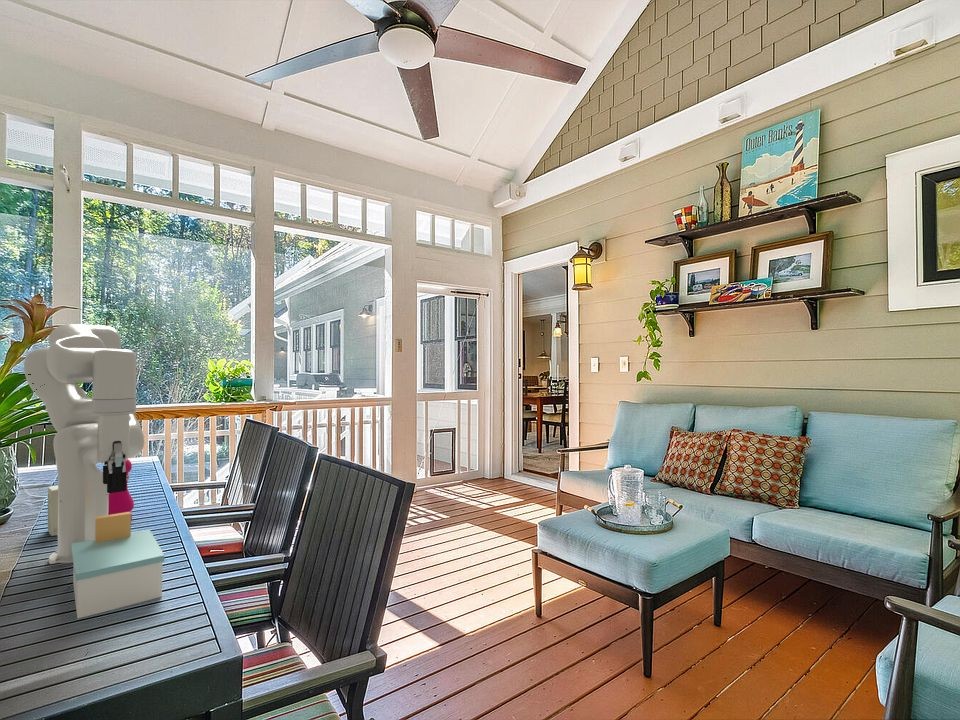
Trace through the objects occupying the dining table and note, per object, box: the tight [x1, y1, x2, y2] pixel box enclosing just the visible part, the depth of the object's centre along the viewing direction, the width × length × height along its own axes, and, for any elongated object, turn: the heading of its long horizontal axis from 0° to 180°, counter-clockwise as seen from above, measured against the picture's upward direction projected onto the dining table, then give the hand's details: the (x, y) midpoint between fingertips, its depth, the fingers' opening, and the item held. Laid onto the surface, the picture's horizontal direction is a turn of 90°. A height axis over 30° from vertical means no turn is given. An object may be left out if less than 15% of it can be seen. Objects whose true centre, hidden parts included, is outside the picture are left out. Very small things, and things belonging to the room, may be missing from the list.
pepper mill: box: [108, 458, 135, 521], centre depth 144 cm, size 7×7×20 cm
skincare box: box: [47, 485, 58, 537], centre depth 135 cm, size 6×4×12 cm
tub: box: [72, 562, 163, 620], centre depth 101 cm, size 18×13×8 cm
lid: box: [72, 512, 165, 581], centre depth 101 cm, size 19×14×8 cm
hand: (114, 487), depth 106 cm, fingers open, 9 cm apart
